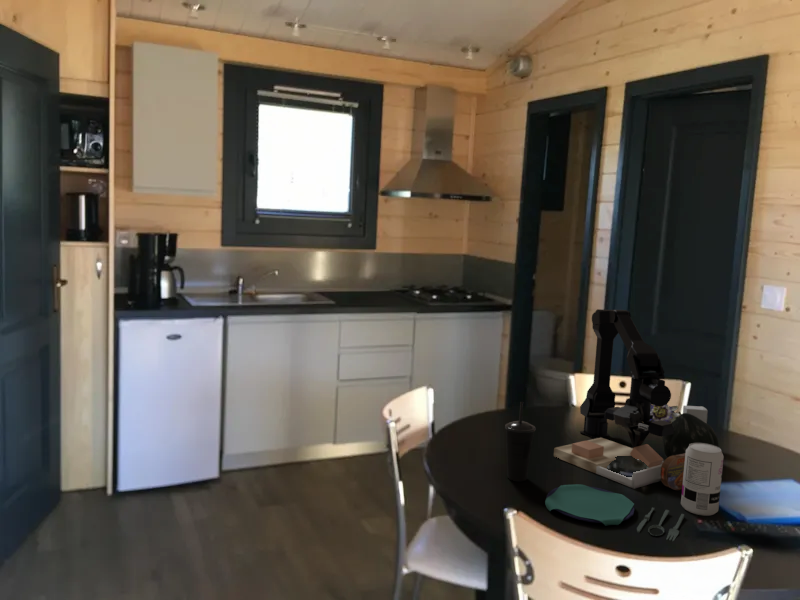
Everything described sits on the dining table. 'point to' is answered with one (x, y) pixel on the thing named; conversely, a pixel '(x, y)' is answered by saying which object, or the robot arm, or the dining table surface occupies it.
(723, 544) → the dining table surface
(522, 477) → the drinking cup
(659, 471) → the tray
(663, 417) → the passion flower
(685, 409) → the skincare box
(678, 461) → the snack packet
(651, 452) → the far tile
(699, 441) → the squash
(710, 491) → the supplement can
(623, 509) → the cutlery set
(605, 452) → the board
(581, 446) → the near tile
